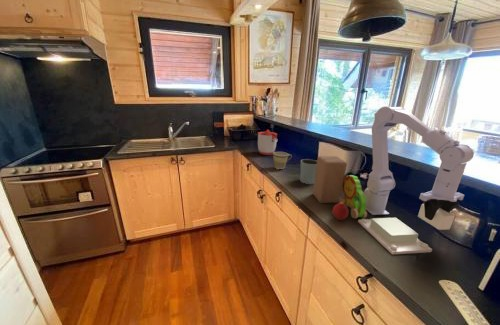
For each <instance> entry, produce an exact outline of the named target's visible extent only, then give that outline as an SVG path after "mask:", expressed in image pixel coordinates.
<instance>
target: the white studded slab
mask: <svg viewBox="0 0 500 325" xmlns="http://www.w3.org/2000/svg"><path fill="white" fill-rule="evenodd" d="M357 223H359V225H360V226H362V227H363V228H364V229H365V230H366V231H367V232H368V233H369V234H370V235H371V236H372V237H374V239H375V240H376V241H378V242H379V243H380V245H382V246H383V247H384V248H385V249H386V250H387V251H388V252H389V253H390V254H391V255H404V254H405V255H406V254H420V253H421V254H423V253H432V252H433V248H431V247H430V246H429V244H427V243H425V242H423V241H421V240H420V239H419V238H418V237H419V233H418V232H416V231H415V230H414V229H412V228H411V227H409V226H408V225H407V224H405V223H404V222H402V221H401V220H400V219H398V218H397V217H373V218H369V219H368V218H361V219H358V220H357Z"/></svg>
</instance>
